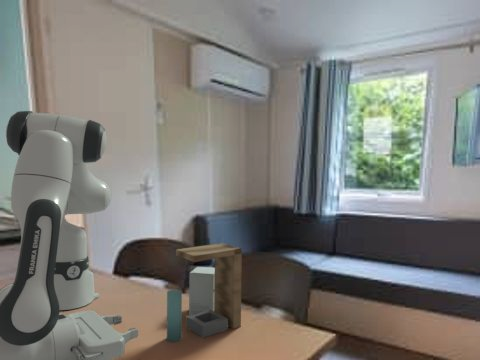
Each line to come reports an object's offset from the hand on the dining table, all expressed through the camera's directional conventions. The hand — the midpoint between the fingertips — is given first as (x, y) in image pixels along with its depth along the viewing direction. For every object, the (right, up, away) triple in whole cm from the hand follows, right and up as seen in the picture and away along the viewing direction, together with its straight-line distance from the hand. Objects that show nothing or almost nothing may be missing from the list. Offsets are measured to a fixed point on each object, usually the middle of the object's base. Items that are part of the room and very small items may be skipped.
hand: (128, 325), depth 89 cm
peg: (+9, -6, +8) cm, 14 cm away
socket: (+17, -6, +14) cm, 23 cm away
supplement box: (+15, -6, +26) cm, 31 cm away
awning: (+17, -6, +14) cm, 23 cm away
